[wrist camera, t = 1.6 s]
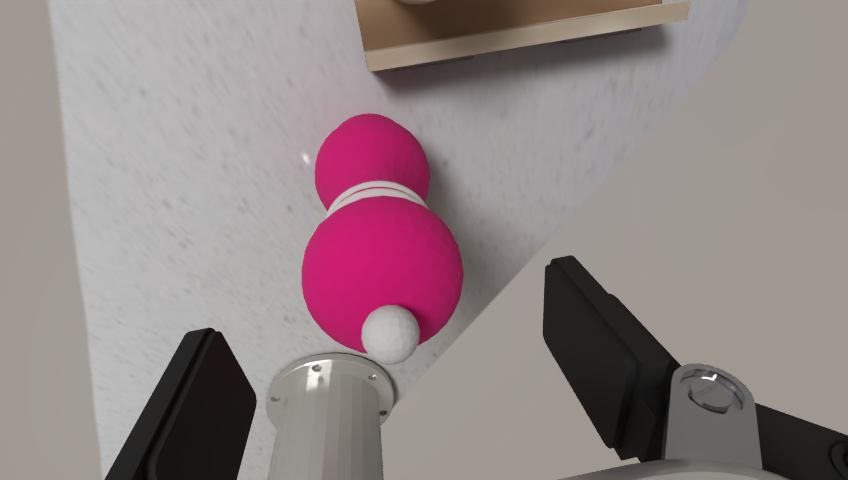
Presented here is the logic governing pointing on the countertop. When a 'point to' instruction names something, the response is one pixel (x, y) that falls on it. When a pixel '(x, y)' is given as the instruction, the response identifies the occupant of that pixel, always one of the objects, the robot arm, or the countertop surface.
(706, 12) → the countertop surface
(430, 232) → the pepper mill
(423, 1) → the jar
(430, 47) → the shelf
